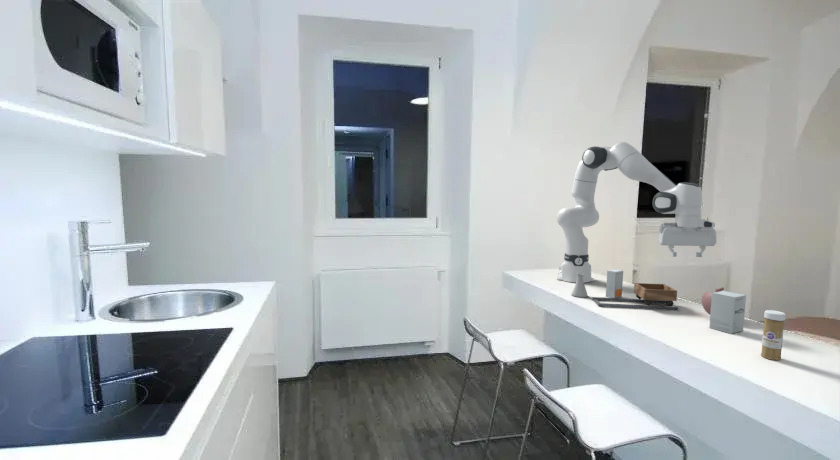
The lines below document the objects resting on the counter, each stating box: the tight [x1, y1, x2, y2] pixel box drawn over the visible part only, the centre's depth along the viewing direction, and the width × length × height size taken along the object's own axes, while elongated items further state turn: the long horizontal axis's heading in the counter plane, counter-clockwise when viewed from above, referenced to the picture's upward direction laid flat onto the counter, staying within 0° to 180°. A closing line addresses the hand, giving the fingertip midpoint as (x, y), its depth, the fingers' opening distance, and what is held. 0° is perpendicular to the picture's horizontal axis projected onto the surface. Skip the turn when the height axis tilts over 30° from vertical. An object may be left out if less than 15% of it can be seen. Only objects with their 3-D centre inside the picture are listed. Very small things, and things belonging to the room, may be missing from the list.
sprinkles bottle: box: [760, 309, 786, 361], centre depth 120 cm, size 5×5×13 cm
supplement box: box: [708, 290, 747, 335], centre depth 144 cm, size 7×7×13 cm
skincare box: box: [605, 268, 624, 298], centre depth 188 cm, size 6×4×12 cm
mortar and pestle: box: [701, 286, 725, 315], centre depth 157 cm, size 12×12×12 cm
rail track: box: [591, 296, 679, 311], centre depth 176 cm, size 11×30×1 cm, turn 81°
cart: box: [633, 282, 678, 306], centre depth 174 cm, size 12×12×6 cm
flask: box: [571, 273, 589, 298], centre depth 190 cm, size 7×7×10 cm
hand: (686, 256), depth 171 cm, fingers open, 8 cm apart
